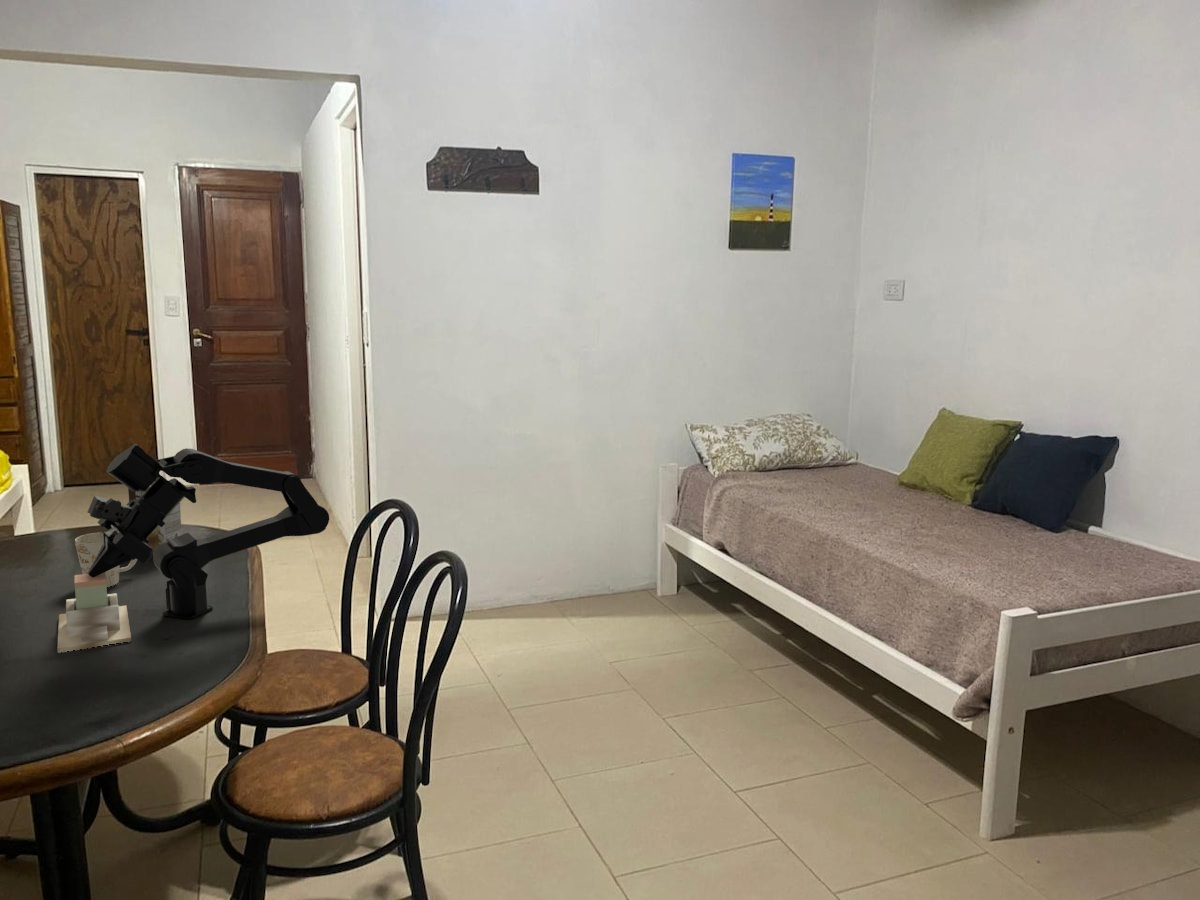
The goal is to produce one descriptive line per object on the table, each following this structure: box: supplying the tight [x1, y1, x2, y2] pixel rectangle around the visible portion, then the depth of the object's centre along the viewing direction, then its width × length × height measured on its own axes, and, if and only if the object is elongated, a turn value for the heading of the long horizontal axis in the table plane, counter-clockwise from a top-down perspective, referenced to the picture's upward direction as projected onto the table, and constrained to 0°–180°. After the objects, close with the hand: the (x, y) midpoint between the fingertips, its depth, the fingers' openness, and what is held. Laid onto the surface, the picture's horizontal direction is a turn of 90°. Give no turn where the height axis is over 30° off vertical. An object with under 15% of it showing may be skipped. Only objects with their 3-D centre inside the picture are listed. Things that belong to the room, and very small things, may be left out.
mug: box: [74, 531, 138, 588], centre depth 188 cm, size 8×13×10 cm, turn 152°
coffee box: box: [127, 480, 183, 556], centre depth 208 cm, size 9×6×16 cm
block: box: [74, 572, 108, 610], centre depth 162 cm, size 5×5×8 cm
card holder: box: [57, 592, 132, 654], centre depth 163 cm, size 11×18×5 cm, turn 29°
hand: (90, 575), depth 161 cm, fingers closed, pressing on block
